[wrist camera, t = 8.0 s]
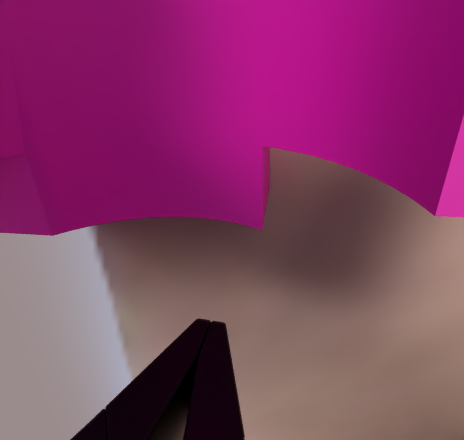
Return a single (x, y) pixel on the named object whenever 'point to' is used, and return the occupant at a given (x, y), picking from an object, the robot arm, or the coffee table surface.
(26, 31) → the toy block
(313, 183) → the coffee table surface
